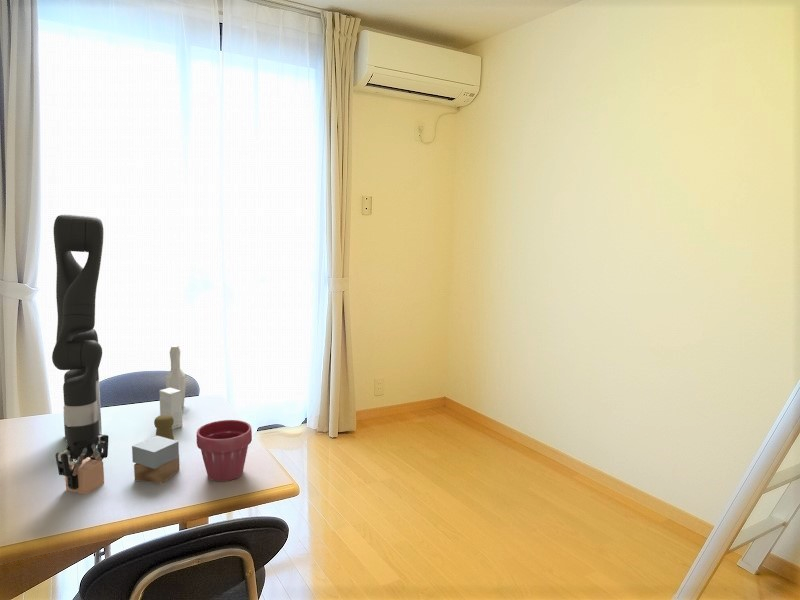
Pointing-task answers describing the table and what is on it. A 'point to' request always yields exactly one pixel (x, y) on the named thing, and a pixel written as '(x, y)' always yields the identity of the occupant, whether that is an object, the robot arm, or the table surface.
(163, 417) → the cork
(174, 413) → the skincare box
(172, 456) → the top block
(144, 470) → the bottom block
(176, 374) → the low poly bottle
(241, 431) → the plant pot
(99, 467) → the cube
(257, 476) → the table surface
